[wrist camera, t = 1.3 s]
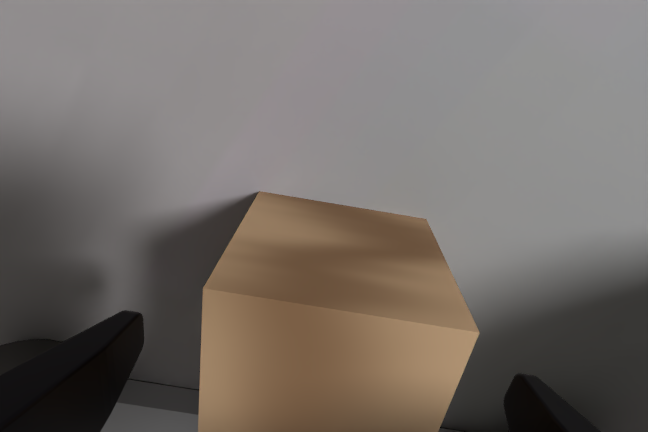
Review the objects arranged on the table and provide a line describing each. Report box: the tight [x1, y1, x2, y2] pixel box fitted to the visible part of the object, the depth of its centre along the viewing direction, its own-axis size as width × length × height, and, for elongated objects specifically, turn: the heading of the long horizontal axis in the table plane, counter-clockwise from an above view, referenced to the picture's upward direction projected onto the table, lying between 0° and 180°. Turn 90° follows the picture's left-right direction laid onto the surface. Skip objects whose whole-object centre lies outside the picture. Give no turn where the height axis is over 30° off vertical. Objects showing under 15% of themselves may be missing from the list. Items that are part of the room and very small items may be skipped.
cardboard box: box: [198, 191, 480, 432], centre depth 10 cm, size 5×5×5 cm
